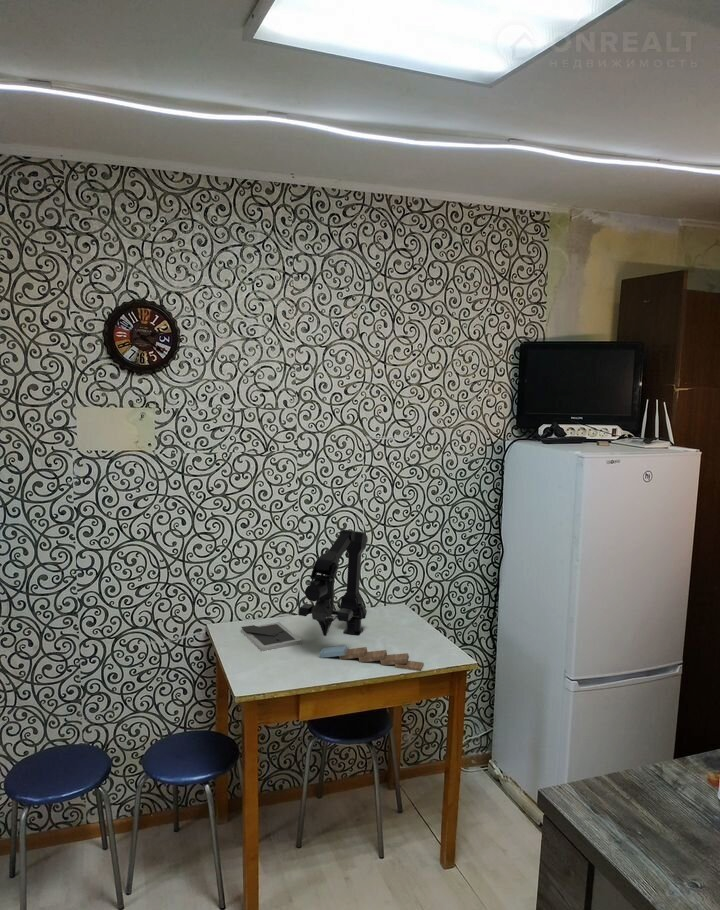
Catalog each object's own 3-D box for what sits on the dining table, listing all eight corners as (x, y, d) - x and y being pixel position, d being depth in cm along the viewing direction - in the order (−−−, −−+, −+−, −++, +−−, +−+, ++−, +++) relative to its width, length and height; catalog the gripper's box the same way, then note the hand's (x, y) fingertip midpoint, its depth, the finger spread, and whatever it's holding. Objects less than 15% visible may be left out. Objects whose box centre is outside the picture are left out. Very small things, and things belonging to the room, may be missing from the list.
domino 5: (395, 664, 242) (420, 668, 239) (398, 659, 246) (423, 662, 244) (394, 669, 242) (420, 672, 240) (398, 663, 247) (423, 667, 244)
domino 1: (319, 653, 249) (343, 651, 246) (323, 648, 253) (346, 645, 251) (320, 657, 249) (344, 655, 246) (324, 652, 254) (347, 649, 251)
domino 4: (380, 660, 243) (405, 658, 241) (383, 655, 248) (408, 653, 246) (381, 665, 244) (406, 663, 241) (384, 659, 248) (408, 657, 246)
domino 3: (358, 657, 246) (383, 655, 243) (361, 652, 250) (386, 649, 248) (359, 662, 246) (384, 659, 244) (362, 656, 251) (387, 654, 248)
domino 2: (339, 655, 248) (363, 652, 245) (342, 649, 252) (366, 646, 250) (339, 659, 248) (364, 656, 246) (343, 654, 253) (367, 651, 250)
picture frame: (241, 634, 271) (261, 653, 253) (241, 626, 271) (261, 645, 253) (279, 627, 279) (301, 645, 261) (279, 620, 279) (301, 638, 261)
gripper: (292, 597, 244) (292, 640, 246) (343, 603, 239) (342, 647, 241) (304, 587, 255) (304, 629, 257) (353, 593, 249) (352, 635, 251)
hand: (325, 635), depth 251 cm, fingers closed
